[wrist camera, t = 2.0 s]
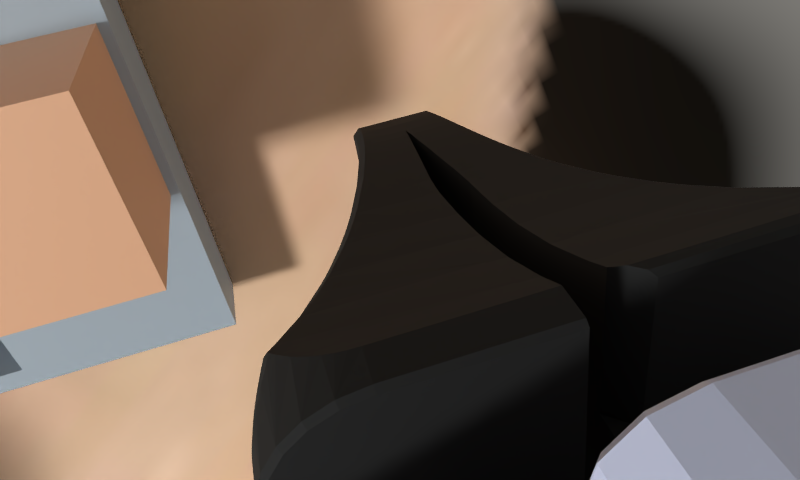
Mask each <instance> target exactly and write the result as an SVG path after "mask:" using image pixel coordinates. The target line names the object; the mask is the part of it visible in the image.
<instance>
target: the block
mask: <svg viewBox="0 0 800 480" xmlns="http://www.w3.org/2000/svg"><path fill="white" fill-rule="evenodd" d="M170 204H171V195H170V192H169V190H168V188H167V185H166V183H165V181H164V179H163V176H162V174H161V172H160V169H159V167H158V165H157V162H156V160H155V158H154V155H153V153H152V151H151V149H150V146H149V144H148V142H147V139H146V137H145V135H144V132H143V130H142V128H141V126H140V123H139V121H138V119H137V116H136V114H135V112H134V109H133V107H132V105H131V102H130V100H129V98H128V96H127V93H126V91H125V89H124V86H123V84H122V82H121V79H120V77H119V75H118V73H117V70H116V68H115V66H114V63H113V61H112V59H111V56H110V54H109V52H108V49H107V47H106V45H105V43H104V40H103V38H102V36H101V33H100V31H99V29H98V26H97V24H96V23H95V24H90V25H86V26H82V27H77V28H73V29H69V30H64V31H60V32H56V33H51V34H47V35H43V36H38V37H34V38H30V39H25V40H21V41H17V42H12V43H8V44H4V45H0V337H3V336H6V335H10V334H13V333H17V332H21V331H24V330H28V329H31V328H35V327H38V326H42V325H45V324H49V323H52V322H56V321H59V320H63V319H66V318H70V317H73V316H77V315H81V314H84V313H88V312H91V311H95V310H98V309H102V308H105V307H109V306H112V305H116V304H119V303H123V302H126V301H130V300H134V299H137V298H141V297H144V296H148V295H151V294H155V293H158V292H162V291H165V290H167V269H168V247H169V226H170Z"/></svg>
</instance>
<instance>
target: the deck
mask: <svg viewBox="0 0 800 480" xmlns="http://www.w3.org/2000/svg"><path fill="white" fill-rule="evenodd" d="M95 23H96V24H97V26H98V29H99V31H100V33H101V36H102V38H103V40H104V43H105V45H106V47H107V49H108V52H109V54H110V56H111V59H112V61H113V63H114V66H115V68H116V70H117V73H118V75H119V77H120V79H121V82H122V84H123V86H124V89H125V91H126V93H127V96H128V98H129V100H130V102H131V105H132V107H133V109H134V112H135V114H136V116H137V119H138V121H139V123H140V126H141V128H142V130H143V132H144V135H145V137H146V139H147V142H148V144H149V146H150V149H151V151H152V153H153V155H154V158H155V160H156V162H157V165H158V167H159V169H160V172H161V174H162V176H163V179H164V181H165V183H166V185H167V188H168V190H169V192H170V195H171V204H170V226H169V247H168V269H167V290H165V291H162V292H158V293H155V294H151V295H148V296H144V297H141V298H137V299H134V300H130V301H126V302H123V303H119V304H116V305H112V306H109V307H105V308H102V309H98V310H95V311H91V312H88V313H84V314H81V315H77V316H73V317H70V318H66V319H63V320H59V321H56V322H52V323H49V324H45V325H42V326H38V327H35V328H31V329H28V330H24V331H21V332H17V333H13V334H10V335H6V336H3V337H0V393H3V392H7V391H10V390H13V389H17V388H20V387H24V386H27V385H30V384H34V383H37V382H41V381H44V380H47V379H51V378H54V377H58V376H61V375H65V374H68V373H71V372H75V371H78V370H82V369H85V368H88V367H92V366H95V365H99V364H102V363H105V362H109V361H112V360H116V359H119V358H122V357H126V356H129V355H133V354H136V353H140V352H143V351H146V350H150V349H153V348H157V347H160V346H163V345H167V344H170V343H174V342H177V341H180V340H184V339H187V338H191V337H194V336H198V335H201V334H204V333H208V332H211V331H215V330H218V329H221V328H225V327H228V326H232V325H235V324H236V317H235V306H234V294H233V284H232V281H231V279H230V277H229V274H228V272H227V269H226V267H225V264H224V262H223V259H222V257H221V254H220V252H219V249H218V247H217V245H216V242H215V240H214V237H213V235H212V232H211V230H210V227H209V225H208V222H207V220H206V217H205V215H204V212H203V210H202V208H201V205H200V203H199V200H198V198H197V195H196V193H195V190H194V188H193V185H192V183H191V180H190V178H189V176H188V173H187V171H186V168H185V166H184V163H183V161H182V158H181V156H180V153H179V151H178V148H177V146H176V143H175V141H174V139H173V136H172V134H171V131H170V129H169V126H168V124H167V121H166V119H165V116H164V114H163V111H162V109H161V107H160V104H159V102H158V99H157V97H156V94H155V92H154V89H153V87H152V84H151V82H150V79H149V77H148V74H147V72H146V70H145V67H144V65H143V62H142V60H141V57H140V55H139V52H138V50H137V47H136V45H135V42H134V40H133V38H132V35H131V33H130V30H129V28H128V25H127V23H126V20H125V18H124V15H123V13H122V10H121V8H120V5H119V3H118V1H117V0H0V45H4V44H8V43H12V42H17V41H21V40H25V39H30V38H34V37H38V36H43V35H47V34H51V33H56V32H60V31H64V30H69V29H73V28H77V27H82V26H86V25H90V24H95Z"/></svg>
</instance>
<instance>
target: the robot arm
mask: <svg viewBox="0 0 800 480" xmlns="http://www.w3.org/2000/svg"><path fill="white" fill-rule="evenodd" d="M354 141H355V145H356V150H357V154H358V159H359V169H358V181H357V188H356V193H355V198H354V203H353V207H352V212H351V216H350V219H349V223H348V226H347V229H346V232H345V235H344V237H343V240H342V243H341V245H340V248H339V250H338V252H337V254H336V256H335V259H334V261H333V263H332V265H331V267H330V269H329V271H328V273H327V275H326V277H325V279H324V280H323V282H322V284H321V285H320V287H319V288H318V290H317V292H316V293H315V295H314V296H313V298H312V299H311V301H310V302H309V304H308V305H307V307H306V308H305V310H304V311H303V313H302V314H301V316H300V317H299V318H298V319H297V321H296V322H295V323H294V324H293V325H292V326H291V327H290V328H289V329H288V331H287V332H286V333H285V334H284V335H283V336H282V337H281V338H280V340H279V341H278V342H277V343H276V344H275V345H274V346H273V347H272V348H271V349H270V350H269V351H268V352H267V353H266V355H265V356H264V358H263V363H262V367H261V373H260V378H259V383H258V389H257V395H256V402H255V410H254V419H253V436H252V464H253V475H254V480H800V187H764V188H763V187H761V188H733V187H714V186H697V185H681V184H672V183H662V182H653V181H646V180H640V179H633V178H626V177H619V176H614V175H608V174H603V173H598V172H593V171H589V170H585V169H581V168H577V167H573V166H568V165H565V164H560V163H557V162H554V161H550V160H547V159H543V158H541V157H538V156H535V155H532V154H529V153H526V152H523V151H521V150H518V149H515V148H512V147H510V146H507V145H505V144H502V143H499V142H497V141H495V140H492V139H490V138H487V137H485V136H483V135H480V134H478V133H476V132H474V131H471V130H469V129H467V128H465V127H463V126H460V125H458V124H456V123H454V122H452V121H449V120H447V119H445V118H443V117H441V116H438V115H436V114H433V113H431V112H428V111H424V112H420V113H416V114H412V115H409V116H405V117H401V118H397V119H393V120H389V121H386V122H382V123H378V124H374V125H370V126H367V127H363V128H359V129H358V130H357V132H356V133H355V135H354Z"/></svg>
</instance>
